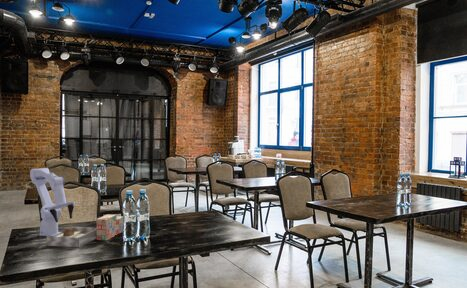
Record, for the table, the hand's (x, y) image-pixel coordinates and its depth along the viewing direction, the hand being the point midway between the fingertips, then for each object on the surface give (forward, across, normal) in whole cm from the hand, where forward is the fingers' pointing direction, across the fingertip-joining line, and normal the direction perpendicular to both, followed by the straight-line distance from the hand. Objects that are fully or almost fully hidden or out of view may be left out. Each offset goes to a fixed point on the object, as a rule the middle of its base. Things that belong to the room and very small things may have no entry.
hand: (64, 220), depth 210 cm
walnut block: (+9, +1, +1) cm, 9 cm away
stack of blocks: (+15, +22, +9) cm, 28 cm away
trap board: (+13, +3, +1) cm, 13 cm away
